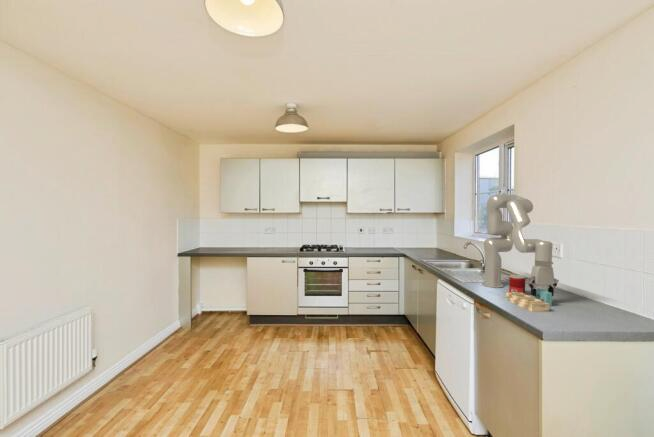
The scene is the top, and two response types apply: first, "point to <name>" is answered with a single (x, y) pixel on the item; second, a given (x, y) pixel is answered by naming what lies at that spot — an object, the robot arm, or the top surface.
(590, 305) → the top surface
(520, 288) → the canned food
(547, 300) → the teal long block
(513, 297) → the tan slotted block
